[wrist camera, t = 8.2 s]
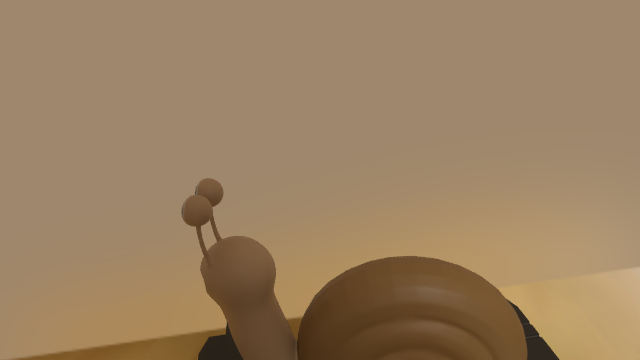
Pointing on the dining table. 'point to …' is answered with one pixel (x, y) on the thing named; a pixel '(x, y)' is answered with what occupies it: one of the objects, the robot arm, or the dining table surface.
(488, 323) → the snail figurine
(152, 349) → the dining table surface
